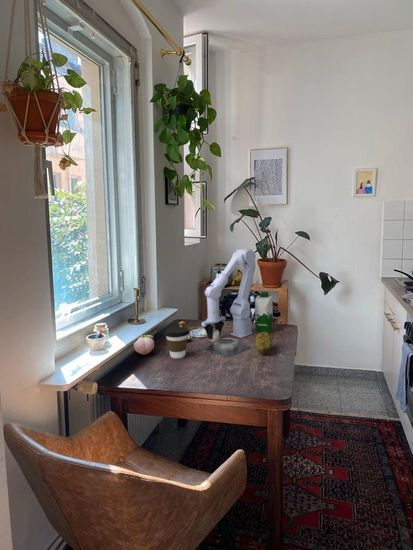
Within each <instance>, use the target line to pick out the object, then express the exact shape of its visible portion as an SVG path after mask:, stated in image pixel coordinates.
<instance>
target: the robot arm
mask: <svg viewBox="0 0 413 550" xmlns="http://www.w3.org/2000/svg"><path fill="white" fill-rule="evenodd" d="M231 255H232V256H231V259H230V261H229V262H228V263H227V265H226V267H225V268H224V270H223V271H222V273H218V274H216V276H215V279H214V280H213V281H212V283H210V285H209V286H207V287H206V289H205V290H204V296H205V297H206V303H207V304H206V305H207V307H206V308H207V318H206V320H204V321H202V322H201V327H203V329H204V330H205V332H206V335H207V338H208V340H209V339H212V333H213V329H218V330H219V338H221V334H222V330H223V327H224V325H225V321H226V316H220V297H221V295H222V291H223V289H224V288H225V286H226V284H227V283H228V282H229V276H230V275H231V274H232V273H233V272H234V270H235V269H237V267H238V266H240V265H242V267H243V273H242V277H241V281H240V284H239V288H238V294H237V297H236V298H235V299H234V300H233V301H232V305H231V307H230V308H229V312H230V314H231V315H232V323H233V324H232V326H233V327H232V329H233V330H232V331H233V332H231V333H230V334H229V335H230V336H234V337H238V338H240V339H241V338H245V337H247V336H250V335H252V334H254V333H253V331H252V330H253V328H252V319H251V317H250V313H251V310H250V308H251V304H250V301H249V298H250V297H249V296H250V292H251V288H252V284H253V279H254V275H255V270H256V267H257V266H256V256H257V255H256V253H255V251H254V250H253V249H249V248H241V247H239V248H238V247H237V248H236V249H235V251H234V252H233V254H231Z"/></svg>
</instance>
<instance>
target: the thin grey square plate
mask: <svg viewBox="0 0 413 550" xmlns="http://www.w3.org/2000/svg"><path fill="white" fill-rule="evenodd" d="M251 348H252V346H249V345H247V344H243V343H239V340H238V339H237V338H233V337H219V339H217V340H216V341H215V342H214V343H213V344H211V345H207V346H204V347H202V348H201V350H203V351H206V352H210V353H213V354H215V355H219V356H221V357H224V358H229V357H233V356H235V355H238V354H240V353H242V352H245V351H247V350H249V349H251Z"/></svg>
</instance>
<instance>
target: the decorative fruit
mask: <svg viewBox="0 0 413 550" xmlns="http://www.w3.org/2000/svg"><path fill="white" fill-rule="evenodd" d="M139 336H140V337H139V338H138V340H137V341H136V342H135V343H134V342H133V348H134V350H135V352H136V353H138V354H140V355H142V356H145V355H148V354H149V353H150V352H152V351H153V349H154V348H155V341H154V339H155V337H154V336H153V335H151V334H146V335H145V334H144V333H142V335H139Z"/></svg>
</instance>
